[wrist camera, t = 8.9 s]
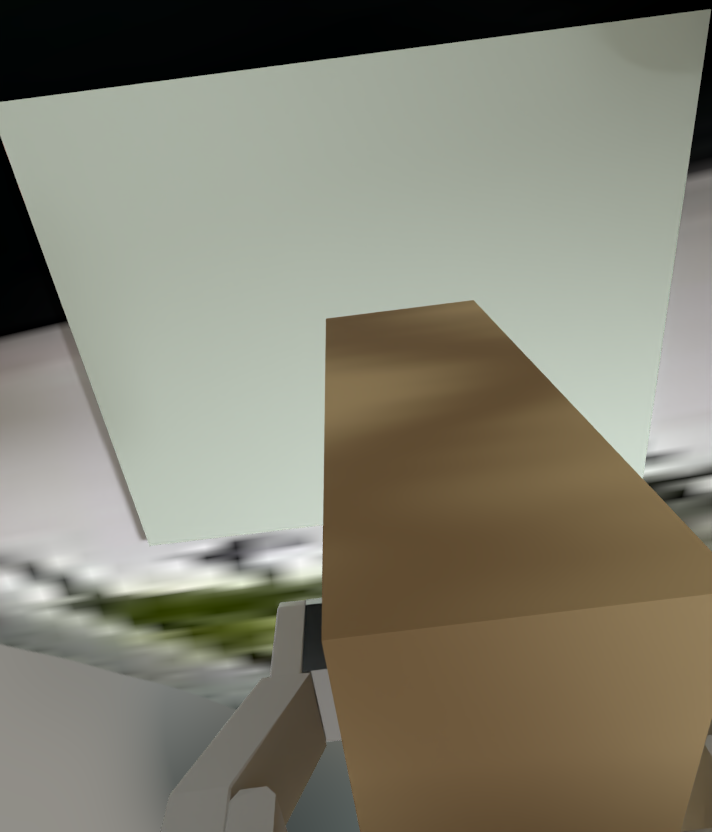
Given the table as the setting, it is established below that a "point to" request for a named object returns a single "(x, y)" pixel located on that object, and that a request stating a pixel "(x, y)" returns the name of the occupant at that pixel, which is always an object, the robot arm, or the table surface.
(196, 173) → the mat
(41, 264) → the table surface
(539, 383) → the wood tile
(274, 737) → the robot arm
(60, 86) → the table surface
